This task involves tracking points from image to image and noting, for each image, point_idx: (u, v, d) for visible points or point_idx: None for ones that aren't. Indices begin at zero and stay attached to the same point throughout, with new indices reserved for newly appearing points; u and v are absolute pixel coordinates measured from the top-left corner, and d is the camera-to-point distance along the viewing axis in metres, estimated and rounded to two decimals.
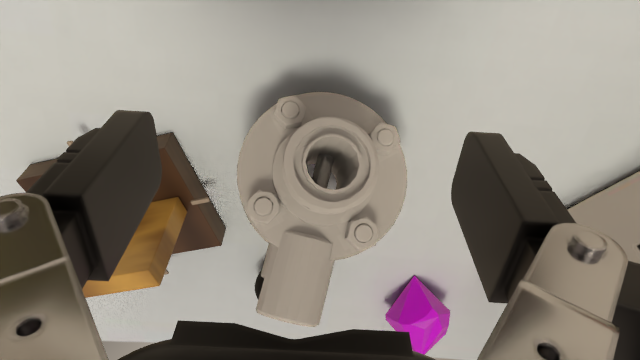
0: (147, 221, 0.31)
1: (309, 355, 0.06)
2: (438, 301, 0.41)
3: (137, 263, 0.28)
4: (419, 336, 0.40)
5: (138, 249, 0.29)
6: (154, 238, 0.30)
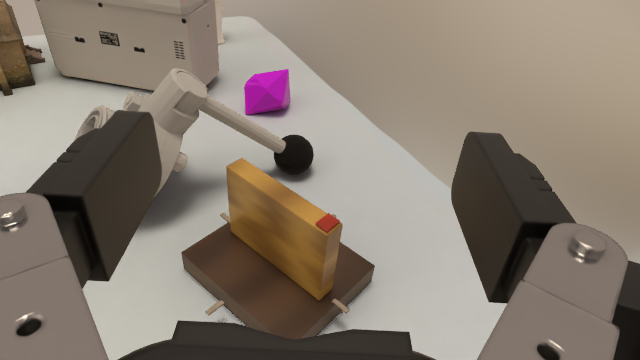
0: (242, 222, 0.35)
1: (309, 355, 0.06)
2: None
3: (234, 180, 0.33)
4: (266, 77, 0.55)
5: (239, 195, 0.33)
6: (232, 198, 0.34)
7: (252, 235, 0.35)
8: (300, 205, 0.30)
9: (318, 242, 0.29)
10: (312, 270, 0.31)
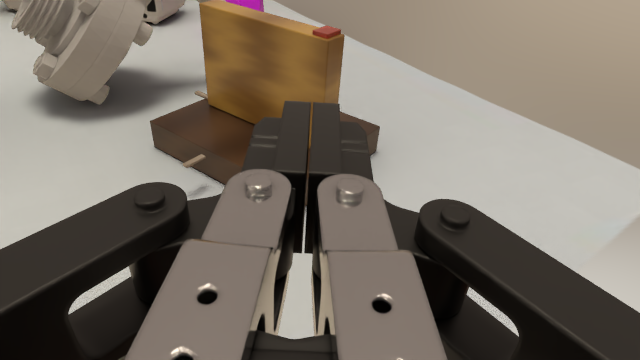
0: (222, 81, 0.30)
1: (309, 355, 0.06)
2: None
3: (210, 18, 0.28)
4: None
5: (217, 40, 0.28)
6: (208, 49, 0.29)
7: (234, 95, 0.30)
8: (291, 23, 0.25)
9: (317, 58, 0.24)
10: (311, 108, 0.26)
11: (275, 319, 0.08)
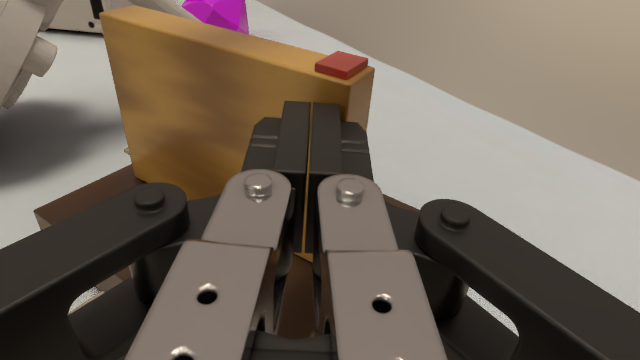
0: (153, 144, 0.17)
1: (309, 355, 0.06)
2: None
3: (120, 39, 0.15)
4: None
5: (136, 77, 0.16)
6: (123, 93, 0.17)
7: (174, 167, 0.17)
8: (270, 48, 0.13)
9: None
10: None
11: (275, 319, 0.08)
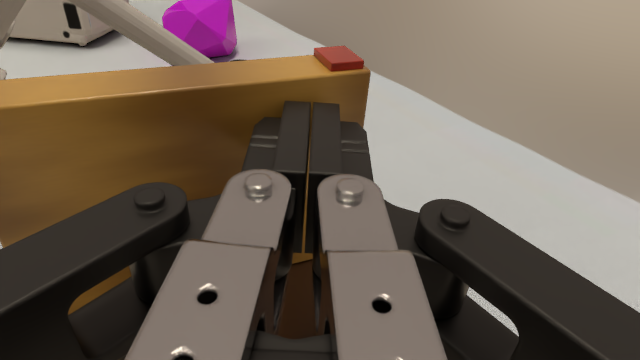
0: None
1: (309, 355, 0.06)
2: None
3: (5, 137, 0.10)
4: (197, 1, 0.35)
5: (47, 182, 0.11)
6: (14, 216, 0.11)
7: None
8: (252, 68, 0.12)
9: (346, 109, 0.13)
10: None
11: (275, 319, 0.08)
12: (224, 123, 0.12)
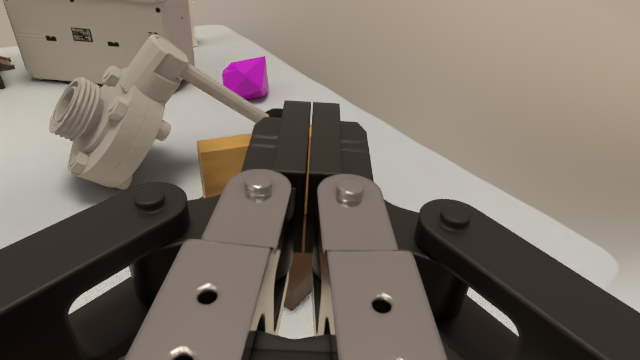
0: None
1: (309, 355, 0.06)
2: None
3: (216, 159, 0.29)
4: (244, 64, 0.55)
5: (224, 174, 0.30)
6: (212, 187, 0.30)
7: None
8: None
9: None
10: None
11: (275, 319, 0.08)
12: None
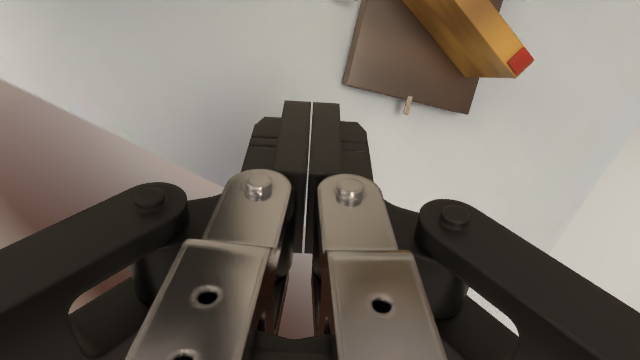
0: None
1: (309, 355, 0.06)
2: None
3: None
4: None
5: None
6: None
7: (410, 0, 0.30)
8: (495, 28, 0.26)
9: (499, 70, 0.28)
10: (474, 68, 0.31)
11: (275, 319, 0.08)
12: (466, 27, 0.27)
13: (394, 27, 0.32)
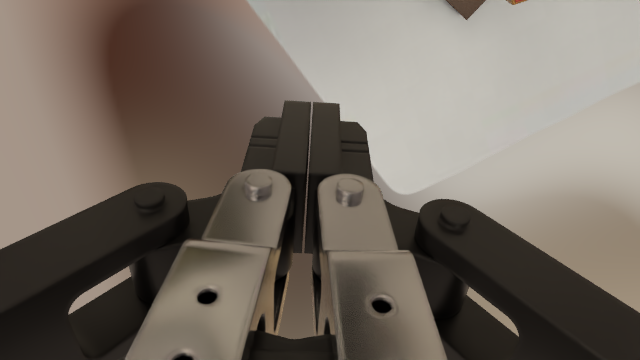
0: None
1: (309, 355, 0.06)
2: None
3: None
4: None
5: None
6: None
7: None
8: None
9: None
10: None
11: (275, 319, 0.08)
12: None
13: None
